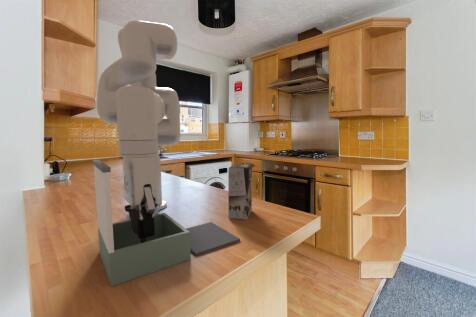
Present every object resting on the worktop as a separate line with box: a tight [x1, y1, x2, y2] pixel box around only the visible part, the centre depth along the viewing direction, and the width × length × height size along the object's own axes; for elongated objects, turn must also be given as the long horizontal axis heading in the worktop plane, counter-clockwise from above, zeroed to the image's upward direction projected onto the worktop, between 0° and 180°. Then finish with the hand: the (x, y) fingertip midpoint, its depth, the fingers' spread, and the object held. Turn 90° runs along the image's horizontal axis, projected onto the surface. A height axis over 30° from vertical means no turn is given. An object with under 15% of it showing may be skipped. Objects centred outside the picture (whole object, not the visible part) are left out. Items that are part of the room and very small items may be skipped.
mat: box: [185, 221, 241, 257], centre depth 61 cm, size 14×12×1 cm
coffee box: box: [227, 163, 253, 220], centre depth 77 cm, size 9×6×16 cm
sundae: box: [124, 201, 158, 243], centre depth 51 cm, size 7×7×15 cm
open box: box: [91, 159, 192, 287], centre depth 51 cm, size 15×15×21 cm
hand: (142, 231), depth 52 cm, fingers closed on sundae, 4 cm apart
